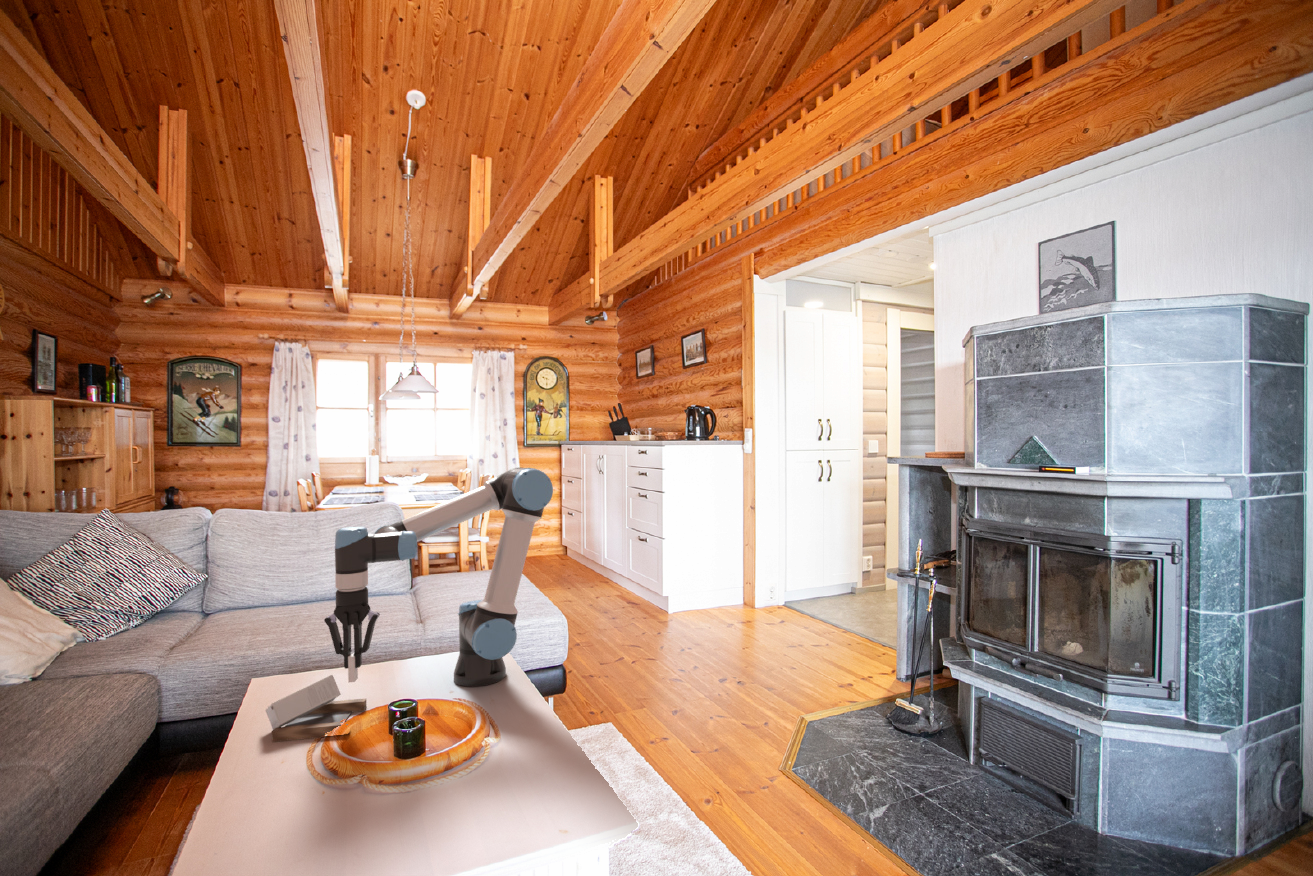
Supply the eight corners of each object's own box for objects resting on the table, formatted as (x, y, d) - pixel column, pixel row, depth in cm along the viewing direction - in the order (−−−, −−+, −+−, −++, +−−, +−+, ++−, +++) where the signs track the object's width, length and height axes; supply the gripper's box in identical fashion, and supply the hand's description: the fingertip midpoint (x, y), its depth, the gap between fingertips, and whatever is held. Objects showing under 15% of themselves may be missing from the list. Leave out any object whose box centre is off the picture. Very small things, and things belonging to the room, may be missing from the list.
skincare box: (334, 700, 167) (273, 732, 156) (325, 679, 168) (263, 710, 157) (341, 694, 161) (279, 727, 150) (332, 672, 162) (269, 704, 151)
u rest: (366, 707, 168) (366, 698, 168) (348, 734, 153) (348, 724, 153) (297, 713, 165) (297, 704, 165) (272, 742, 150) (271, 731, 150)
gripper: (382, 583, 166) (383, 673, 165) (329, 586, 163) (330, 677, 163) (375, 589, 158) (376, 683, 158) (319, 593, 156) (320, 688, 156)
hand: (353, 680), depth 160 cm, fingers closed
